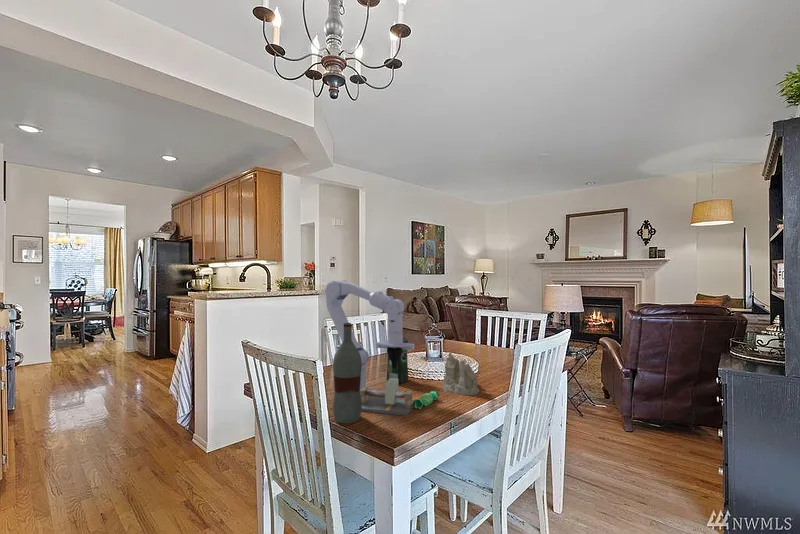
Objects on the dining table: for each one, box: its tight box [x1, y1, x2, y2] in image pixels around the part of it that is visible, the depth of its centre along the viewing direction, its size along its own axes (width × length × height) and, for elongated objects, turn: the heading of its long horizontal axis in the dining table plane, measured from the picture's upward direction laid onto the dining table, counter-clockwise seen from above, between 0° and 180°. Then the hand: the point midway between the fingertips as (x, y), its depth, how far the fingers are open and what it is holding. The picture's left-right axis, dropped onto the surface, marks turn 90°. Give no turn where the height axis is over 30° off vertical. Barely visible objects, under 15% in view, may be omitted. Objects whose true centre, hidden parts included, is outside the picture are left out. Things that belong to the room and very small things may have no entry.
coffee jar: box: [386, 336, 409, 384], centre depth 161 cm, size 10×8×19 cm
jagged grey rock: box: [442, 352, 480, 397], centre depth 152 cm, size 16×16×15 cm
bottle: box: [332, 322, 362, 424], centre depth 120 cm, size 9×9×30 cm
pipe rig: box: [360, 386, 415, 416], centre depth 130 cm, size 18×12×6 cm, turn 76°
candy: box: [413, 390, 440, 411], centre depth 133 cm, size 12×3×4 cm
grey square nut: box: [384, 378, 399, 404], centre depth 130 cm, size 3×6×7 cm, turn 166°
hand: (394, 368), depth 142 cm, fingers closed
